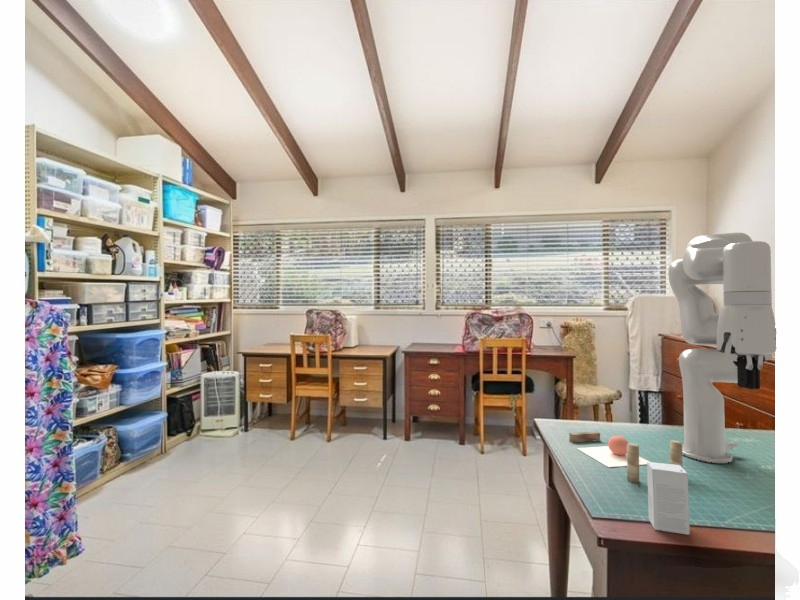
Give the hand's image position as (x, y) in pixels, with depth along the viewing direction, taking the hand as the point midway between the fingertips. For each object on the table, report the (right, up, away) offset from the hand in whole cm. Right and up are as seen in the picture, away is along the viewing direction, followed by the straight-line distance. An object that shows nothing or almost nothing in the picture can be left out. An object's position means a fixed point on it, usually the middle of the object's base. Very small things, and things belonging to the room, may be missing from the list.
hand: (748, 387), depth 79 cm
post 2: (-2, -28, +18) cm, 33 cm away
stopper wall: (-12, -28, +45) cm, 54 cm away
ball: (-8, -25, +33) cm, 42 cm away
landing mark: (-10, -28, +32) cm, 44 cm away
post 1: (-14, -28, +16) cm, 35 cm away
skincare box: (-20, -27, -4) cm, 34 cm away
